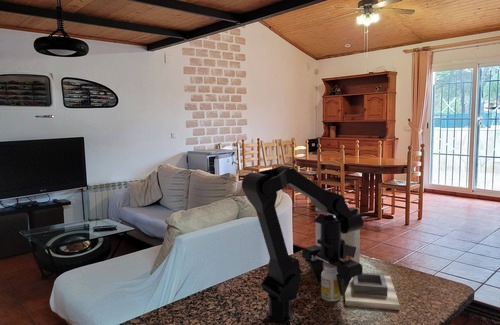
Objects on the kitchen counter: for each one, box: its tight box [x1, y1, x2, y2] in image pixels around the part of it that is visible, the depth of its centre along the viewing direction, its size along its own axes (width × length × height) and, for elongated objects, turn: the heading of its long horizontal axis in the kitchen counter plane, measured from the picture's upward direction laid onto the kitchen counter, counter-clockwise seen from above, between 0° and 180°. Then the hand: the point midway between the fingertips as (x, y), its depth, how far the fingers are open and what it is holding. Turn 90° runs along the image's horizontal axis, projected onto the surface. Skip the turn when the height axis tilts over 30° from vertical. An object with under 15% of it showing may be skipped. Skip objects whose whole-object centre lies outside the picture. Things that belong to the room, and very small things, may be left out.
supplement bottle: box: [320, 263, 341, 302], centre depth 106 cm, size 5×5×10 cm
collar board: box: [344, 272, 401, 311], centre depth 109 cm, size 18×14×4 cm
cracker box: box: [314, 206, 361, 267], centre depth 128 cm, size 14×6×21 cm, turn 58°
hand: (330, 288), depth 107 cm, fingers open, 9 cm apart
